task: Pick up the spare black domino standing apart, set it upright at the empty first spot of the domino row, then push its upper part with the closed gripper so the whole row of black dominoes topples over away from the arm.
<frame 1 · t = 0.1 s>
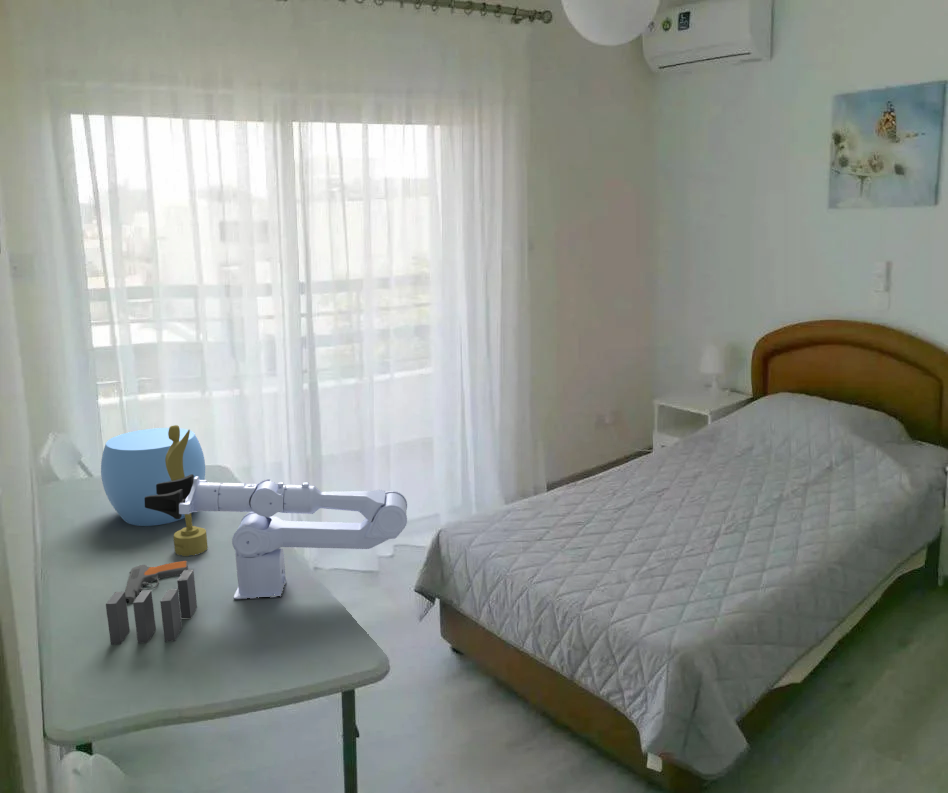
hand: (151, 495, 166), 22 cm above the table, tool horizontal, fingers open, 7 cm apart
domino end: (120, 637, 154), on the table
sculpture: (192, 551, 193), on the table
domino 2: (147, 636, 154), on the table
planter: (159, 514, 217), on the table
handgun: (157, 586, 176), on the table
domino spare: (189, 613, 163), on the table
domino 1: (173, 634, 154), on the table
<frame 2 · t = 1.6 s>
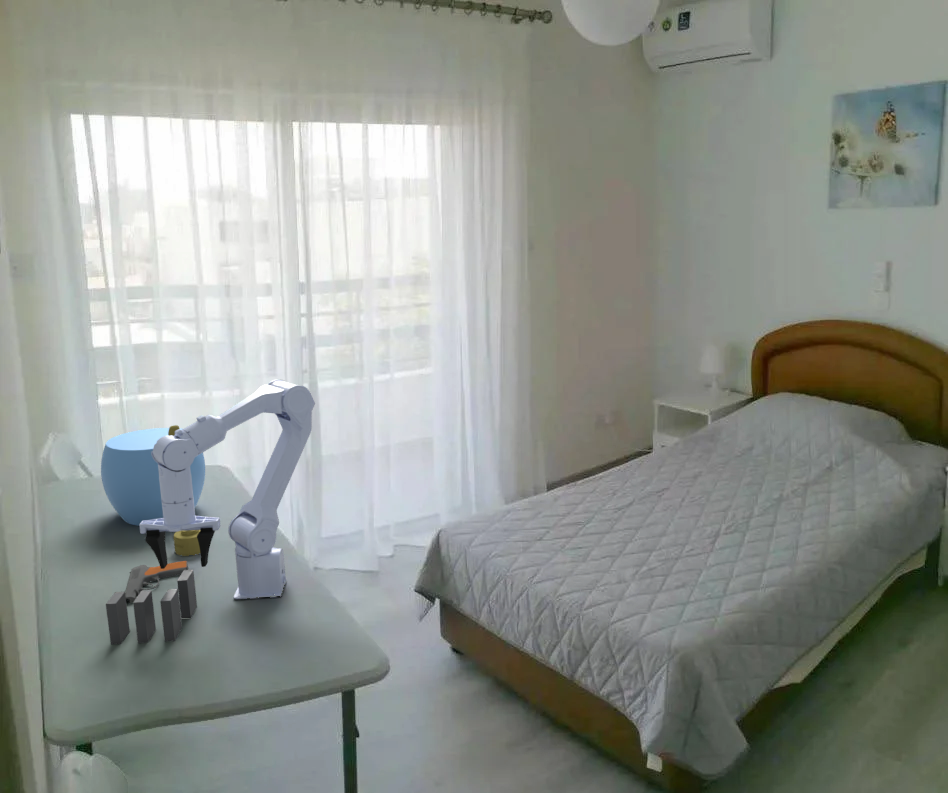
hand: (184, 565, 161), 10 cm above the table, tool pointing down, fingers open, 7 cm apart
nothing on the table moved.
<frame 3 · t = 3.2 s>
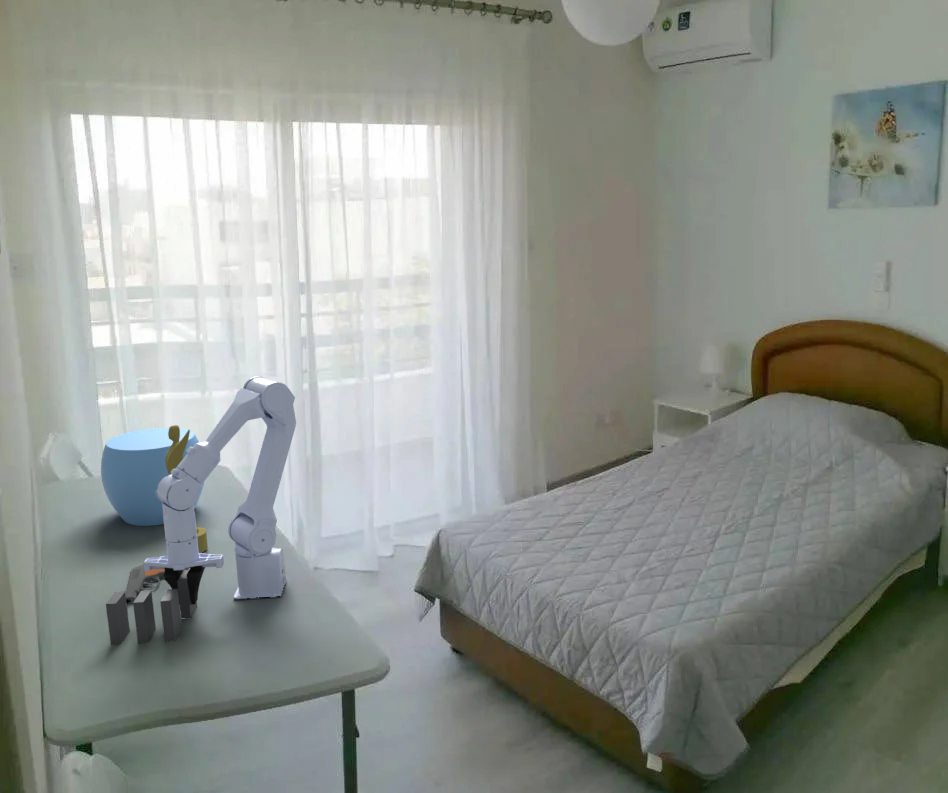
hand: (188, 602, 162), 2 cm above the table, tool pointing down, fingers closed on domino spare, 2 cm apart
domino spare: (189, 612, 163), on the table, touching gripper
everything else where it was.
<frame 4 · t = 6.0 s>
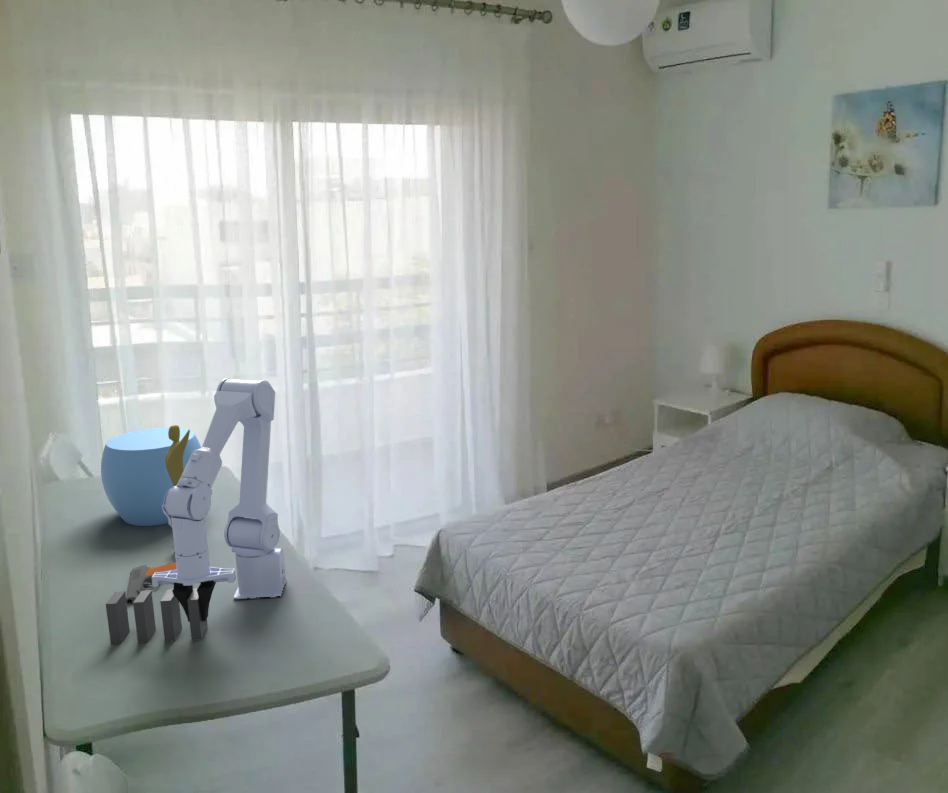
hand: (198, 619, 154), 3 cm above the table, tool pointing down, fingers closed on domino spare, 2 cm apart
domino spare: (199, 633, 155), on the table, touching gripper
everything else where it was.
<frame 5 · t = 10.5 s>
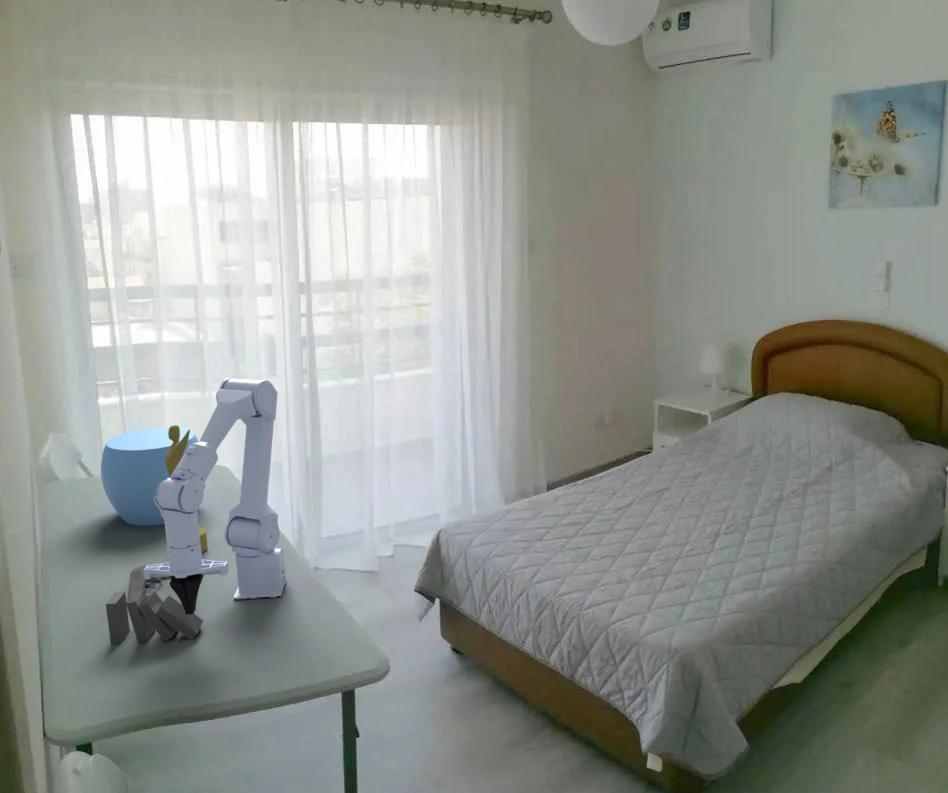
hand: (190, 611, 154), 4 cm above the table, tool pointing down, fingers closed
domino 2: (146, 635, 154), on the table, tilted 9°
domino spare: (197, 630, 154), point 1 cm above the table, tilted 47°
domino 1: (172, 632, 154), on the table, tilted 30°
everything else where it was.
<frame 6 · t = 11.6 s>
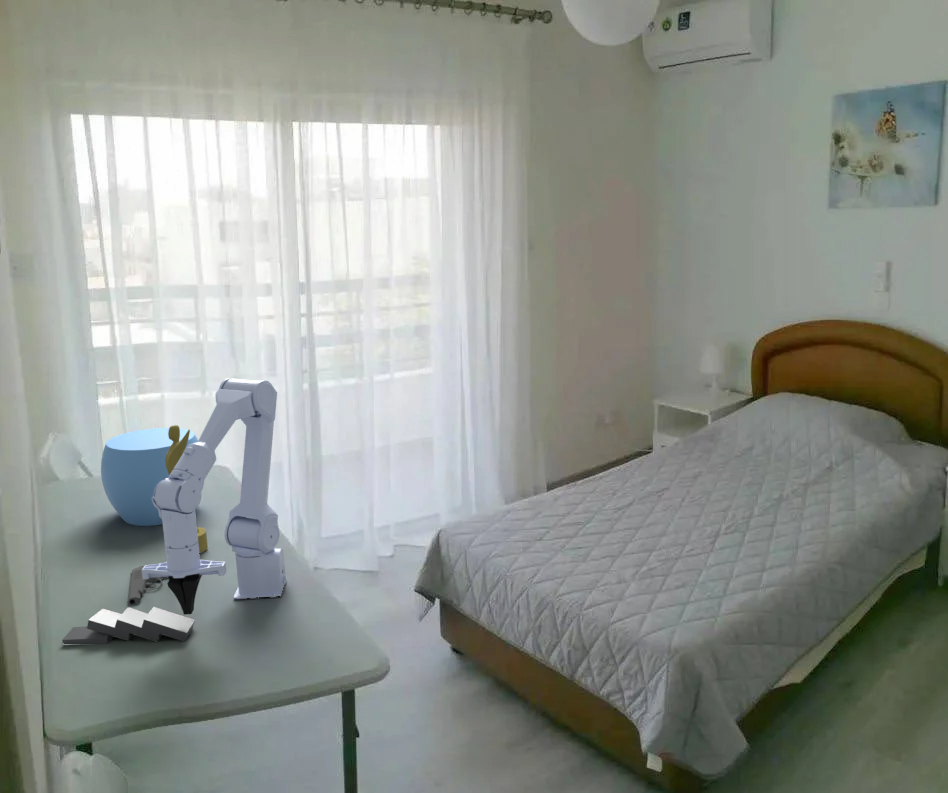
hand: (188, 611, 154), 4 cm above the table, tool pointing down, fingers closed
domino end: (112, 635, 154), on the table, tilted 90°
domino 2: (135, 630, 154), point 1 cm above the table, tilted 75°, touching domino 1
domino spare: (189, 630, 154), point 1 cm above the table, tilted 69°, touching domino 1
domino 1: (163, 631, 154), point 1 cm above the table, tilted 68°, touching domino 2, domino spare
everything else where it was.
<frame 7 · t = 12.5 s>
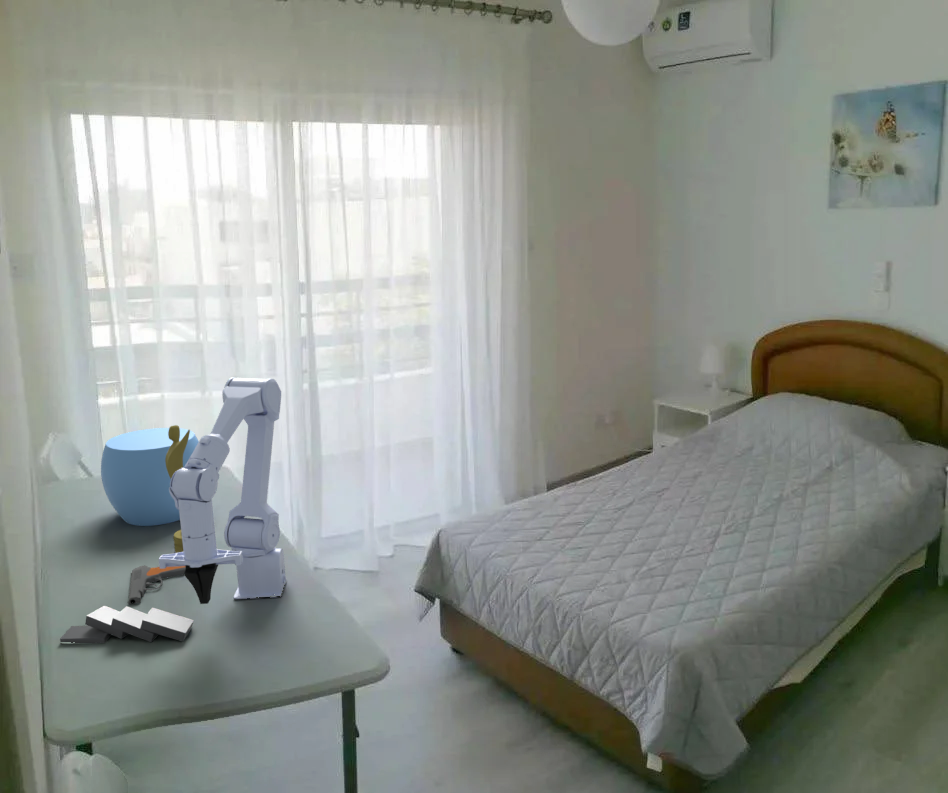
hand: (205, 601, 153), 6 cm above the table, tool pointing down, fingers closed
domino 2: (130, 628, 155), point 1 cm above the table, tilted 77°, touching domino 1
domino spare: (188, 630, 154), point 1 cm above the table, tilted 70°
domino 1: (158, 631, 154), point 1 cm above the table, tilted 69°, touching domino 2
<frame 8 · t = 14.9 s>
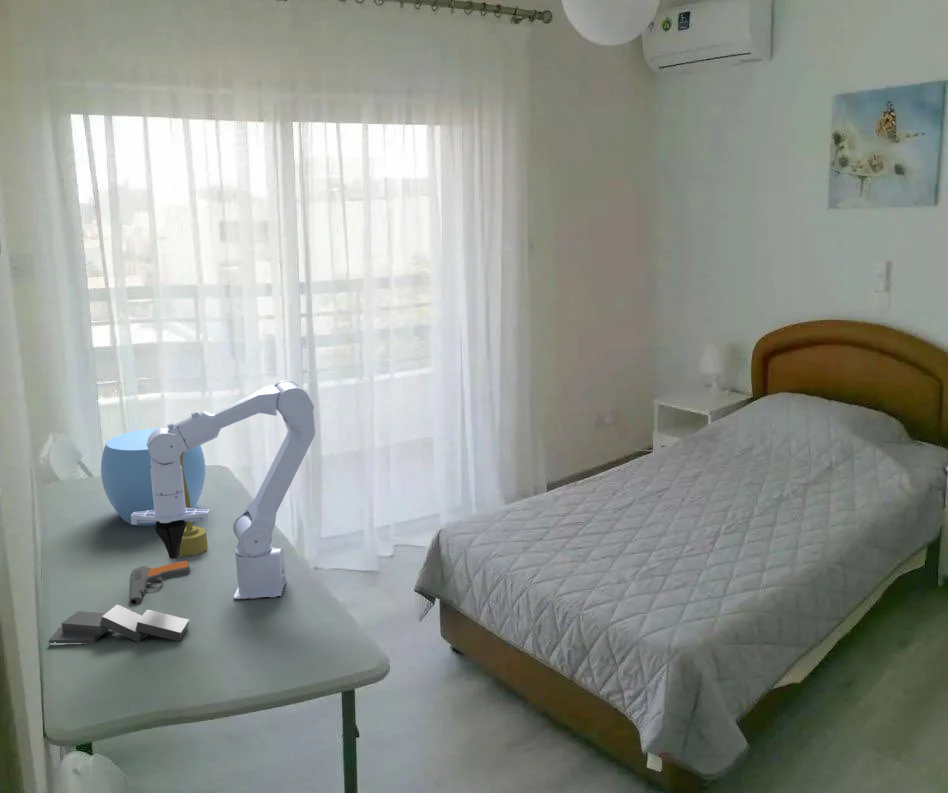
hand: (174, 556, 164), 10 cm above the table, tool pointing down, fingers closed
domino end: (99, 636, 154), on the table, tilted 90°, touching domino 2
domino 2: (109, 624, 155), point 2 cm above the table, tilted 90°, touching domino 1, domino end
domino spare: (184, 630, 154), point 1 cm above the table, tilted 73°, touching domino 1
domino 1: (147, 632, 154), point 1 cm above the table, tilted 67°, touching domino 2, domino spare
everything else where it was.
at the end: domino end tilted 90°; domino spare tilted 73°; the gripper is holding nothing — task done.
